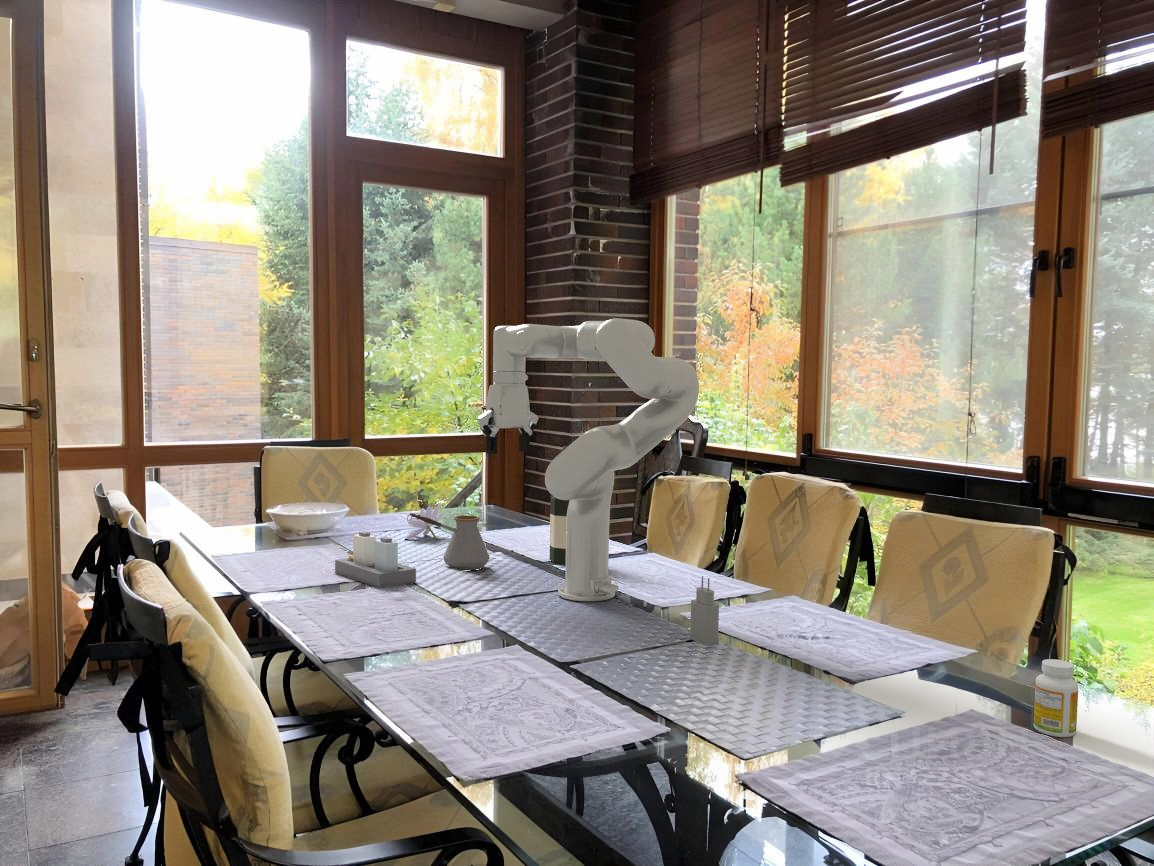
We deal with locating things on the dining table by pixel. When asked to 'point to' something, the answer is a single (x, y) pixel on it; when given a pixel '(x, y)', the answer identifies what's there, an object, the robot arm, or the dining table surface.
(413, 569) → the grey socket block
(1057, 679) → the supplement bottle
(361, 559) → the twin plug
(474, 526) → the coffee pot
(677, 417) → the robot arm
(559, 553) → the wine bottle
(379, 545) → the plug
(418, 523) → the water lily
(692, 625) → the power adapter
